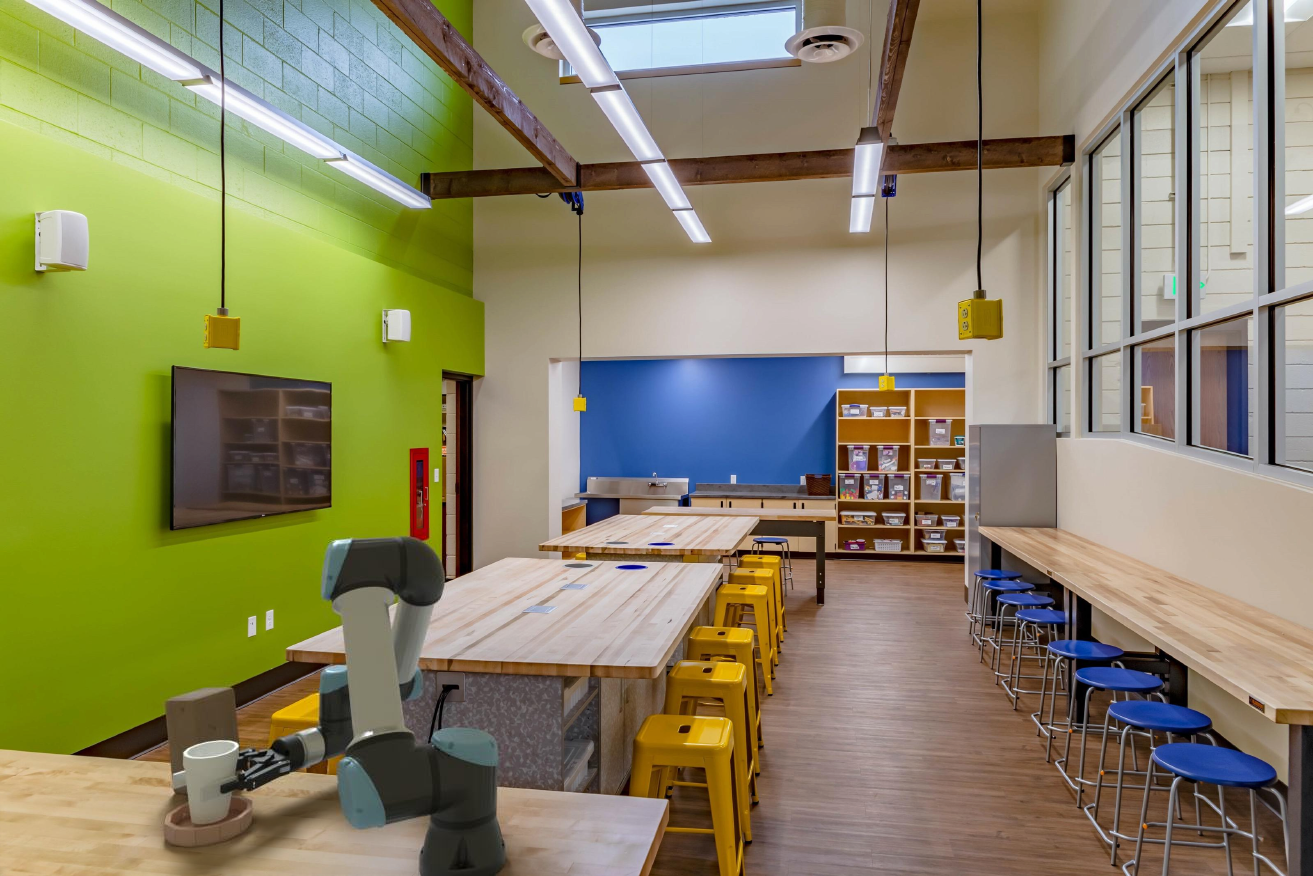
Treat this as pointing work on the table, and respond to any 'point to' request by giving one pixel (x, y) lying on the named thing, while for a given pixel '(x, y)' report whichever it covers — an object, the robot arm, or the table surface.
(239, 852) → the table surface
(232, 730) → the wooden block
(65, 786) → the table surface
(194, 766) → the foam cup
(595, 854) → the table surface
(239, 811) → the bowl
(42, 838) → the table surface
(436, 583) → the robot arm
